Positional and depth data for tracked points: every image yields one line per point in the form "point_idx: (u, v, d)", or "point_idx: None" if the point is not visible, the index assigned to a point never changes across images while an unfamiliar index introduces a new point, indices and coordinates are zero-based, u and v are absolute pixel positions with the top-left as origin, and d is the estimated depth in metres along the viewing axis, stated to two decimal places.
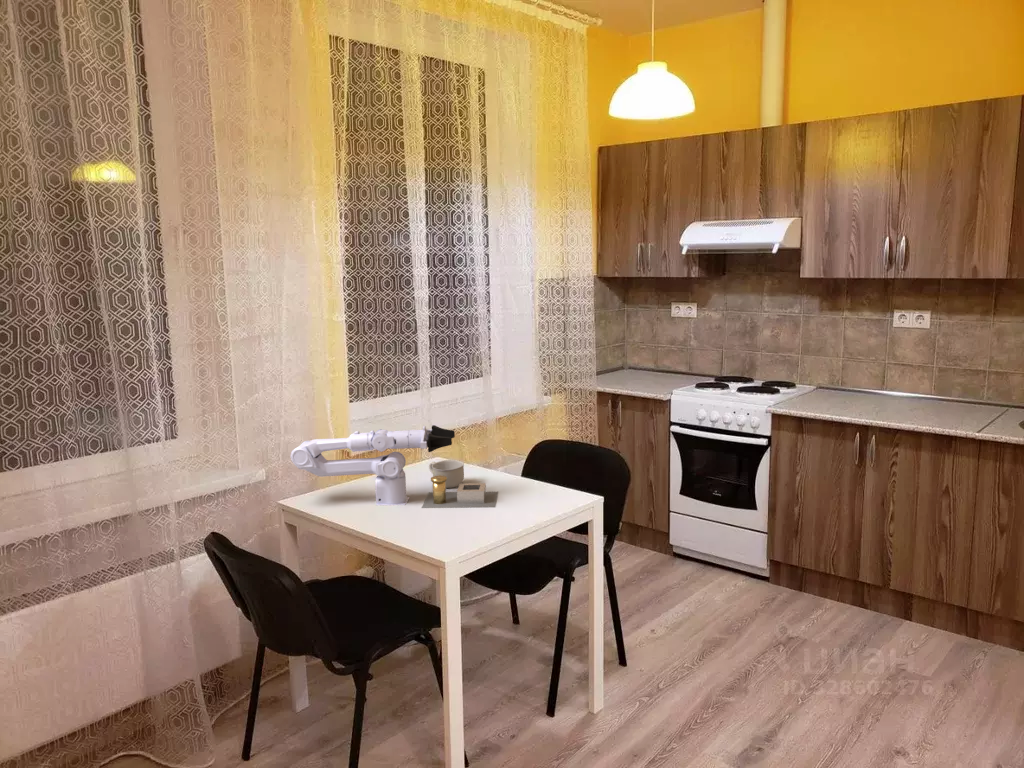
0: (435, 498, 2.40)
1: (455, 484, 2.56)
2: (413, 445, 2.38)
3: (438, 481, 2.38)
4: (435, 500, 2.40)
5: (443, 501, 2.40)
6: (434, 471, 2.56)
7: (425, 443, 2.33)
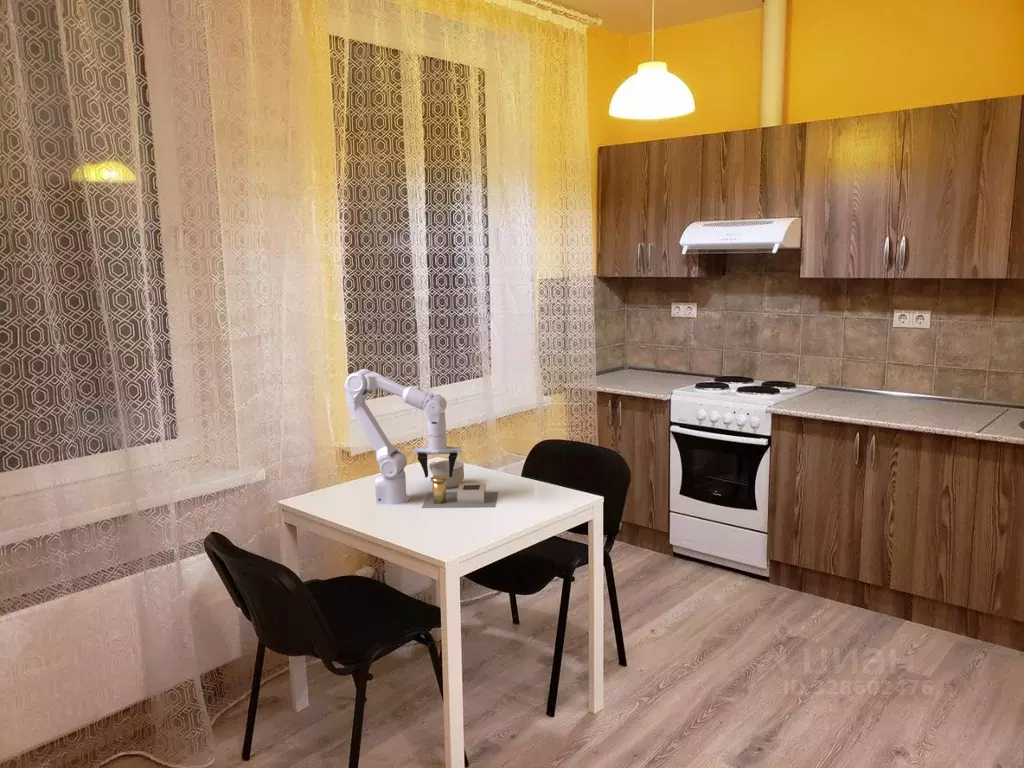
0: (435, 498, 2.40)
1: (455, 484, 2.56)
2: None
3: (438, 481, 2.38)
4: (435, 500, 2.40)
5: (443, 501, 2.40)
6: (434, 471, 2.56)
7: None
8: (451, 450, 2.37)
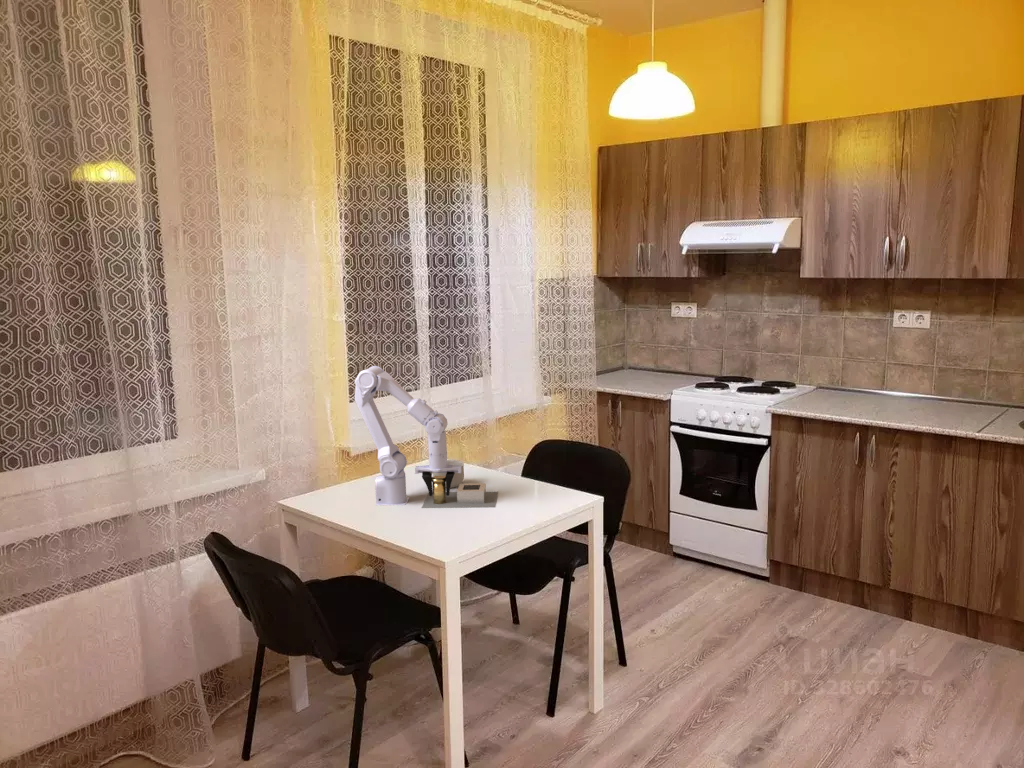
0: (435, 498, 2.40)
1: (455, 484, 2.56)
2: None
3: (438, 481, 2.38)
4: (435, 500, 2.40)
5: (443, 501, 2.40)
6: None
7: None
8: (452, 469, 2.38)
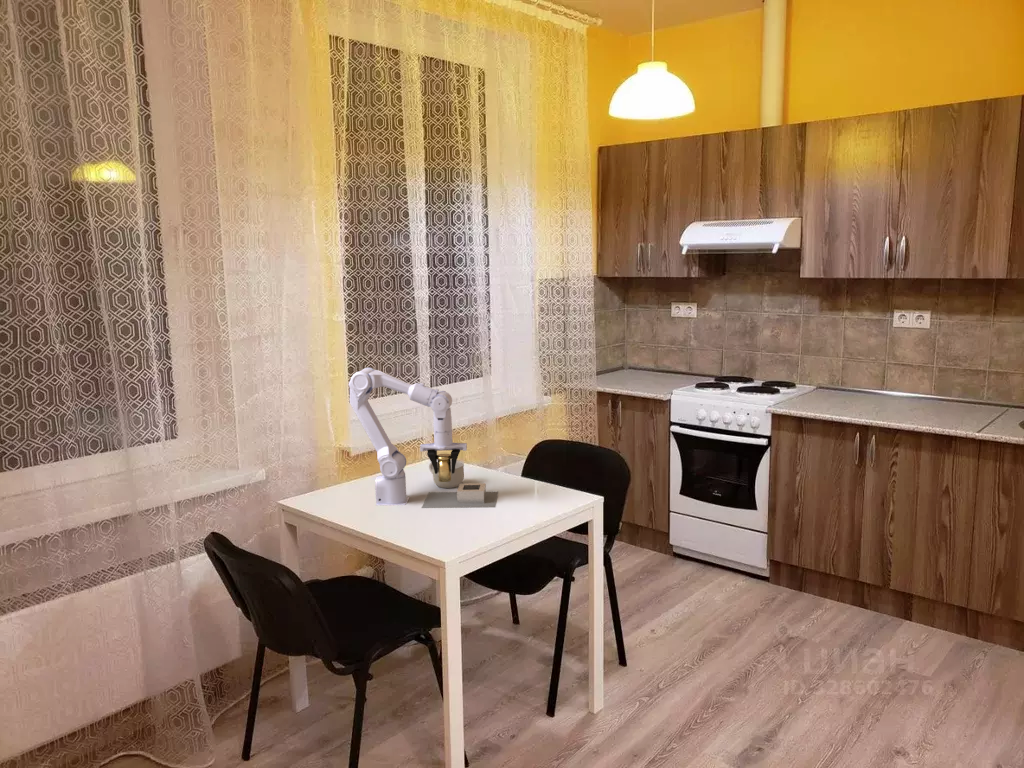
0: (440, 476, 2.39)
1: (455, 484, 2.56)
2: None
3: (443, 459, 2.37)
4: (440, 478, 2.39)
5: (448, 479, 2.39)
6: None
7: None
8: (457, 446, 2.37)
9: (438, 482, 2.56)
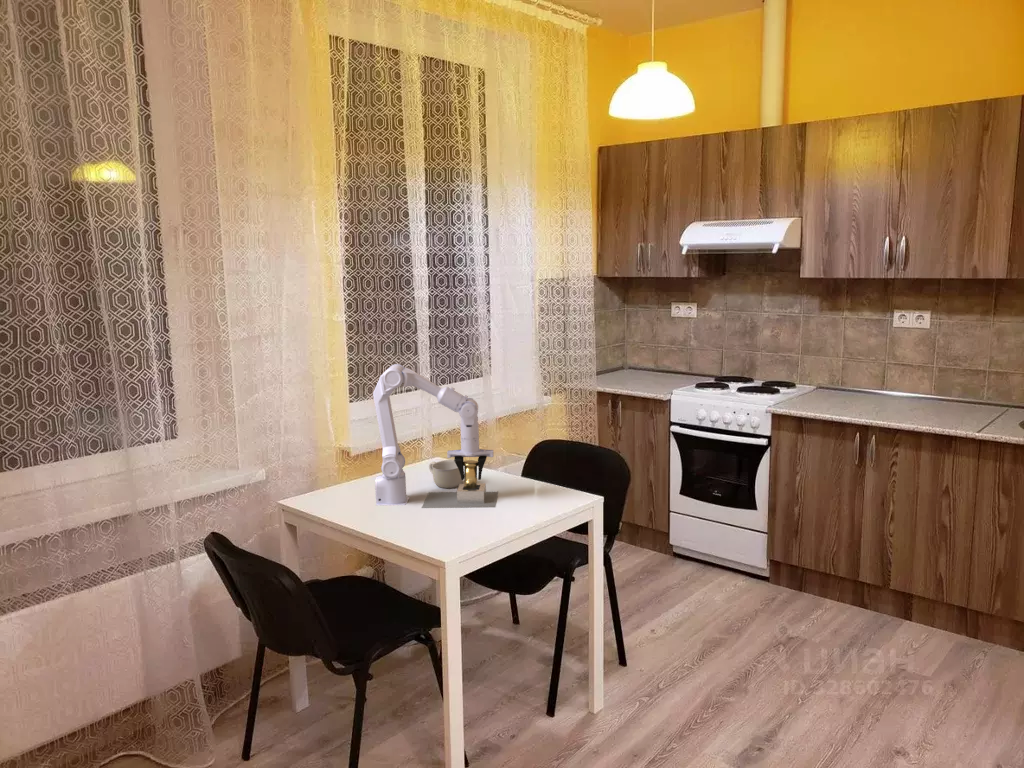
0: (466, 482, 2.41)
1: (455, 484, 2.56)
2: None
3: (470, 465, 2.39)
4: (466, 484, 2.41)
5: (474, 486, 2.42)
6: (434, 471, 2.56)
7: None
8: (484, 453, 2.40)
9: (438, 482, 2.56)
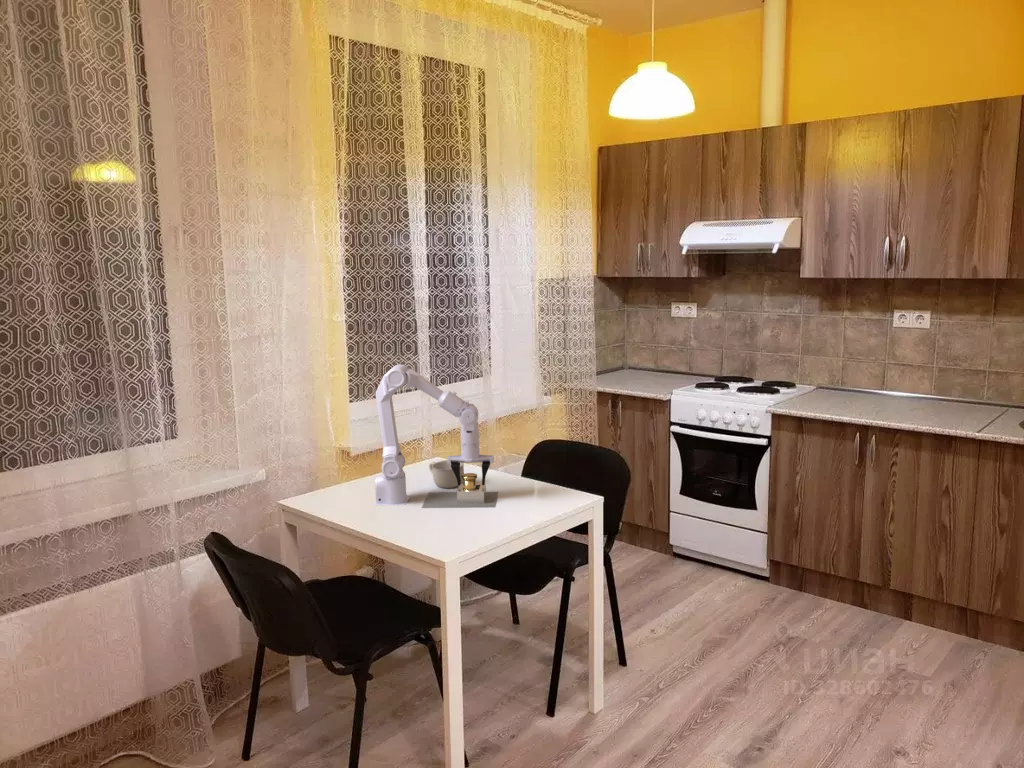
0: None
1: (455, 484, 2.56)
2: None
3: (469, 478, 2.40)
4: None
5: None
6: (434, 471, 2.56)
7: None
8: (484, 458, 2.40)
9: (438, 482, 2.56)
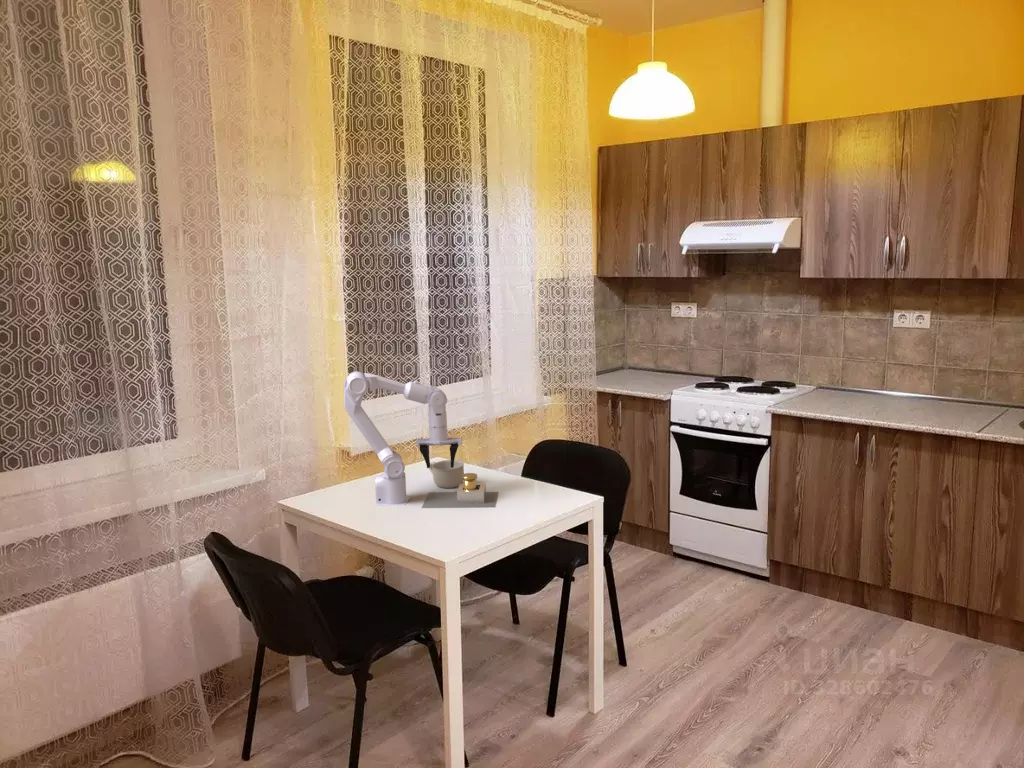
0: None
1: (455, 484, 2.56)
2: None
3: (469, 478, 2.40)
4: None
5: None
6: (434, 471, 2.56)
7: None
8: (452, 441, 2.43)
9: (438, 482, 2.56)
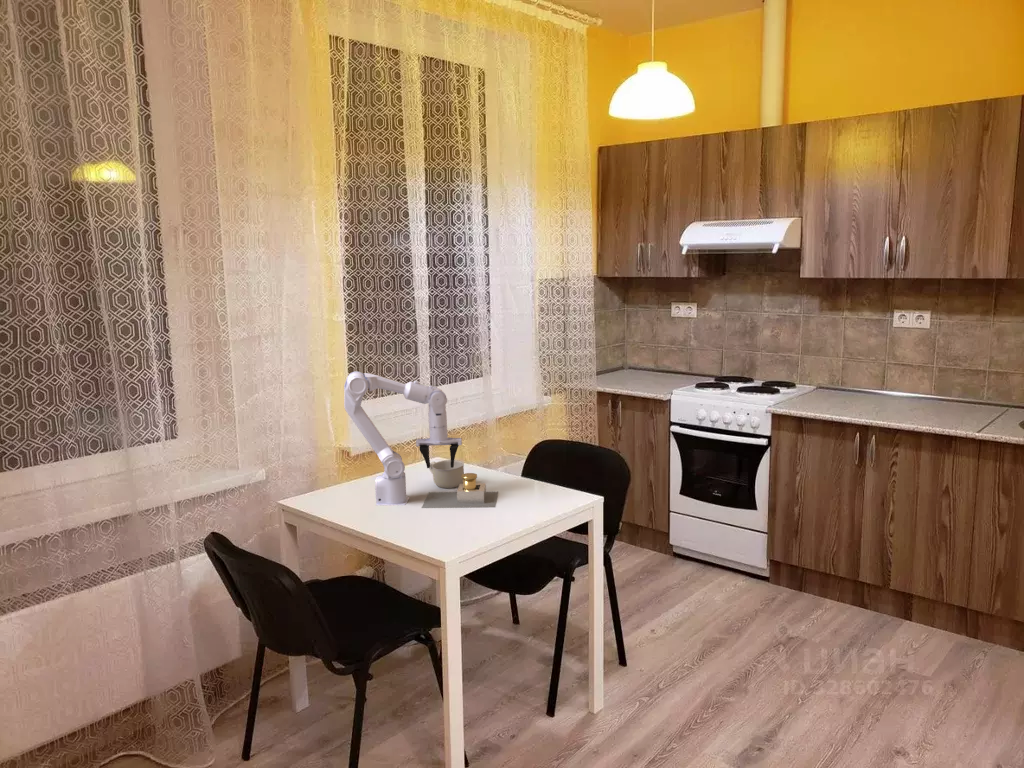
0: None
1: (455, 484, 2.56)
2: None
3: (469, 478, 2.40)
4: None
5: None
6: (434, 471, 2.56)
7: None
8: (452, 441, 2.43)
9: (438, 482, 2.56)
